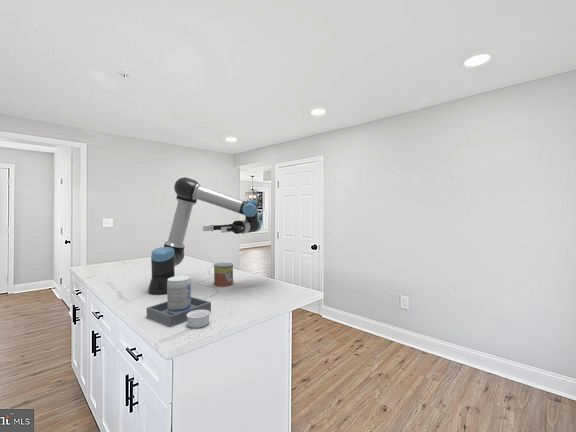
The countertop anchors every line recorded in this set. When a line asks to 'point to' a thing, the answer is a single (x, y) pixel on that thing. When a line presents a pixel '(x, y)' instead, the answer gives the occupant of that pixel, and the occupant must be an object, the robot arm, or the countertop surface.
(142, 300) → the countertop surface
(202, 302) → the tray
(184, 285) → the supplement tub
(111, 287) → the countertop surface
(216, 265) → the canned food
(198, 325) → the ramekin
